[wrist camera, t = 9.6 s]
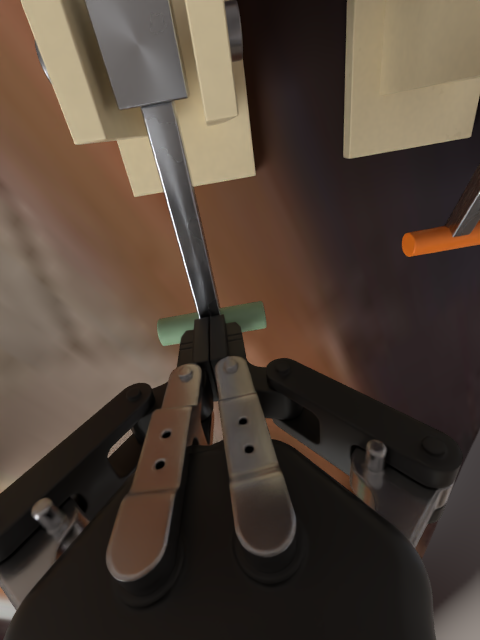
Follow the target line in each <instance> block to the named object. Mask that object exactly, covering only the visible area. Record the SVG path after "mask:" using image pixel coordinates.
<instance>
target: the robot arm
mask: <svg viewBox="0 0 480 640" xmlns="http://www.w3.org/2000/svg"><path fill="white" fill-rule="evenodd" d="M179 350H180V351H179V356H178V364H177V368H176V369H174V370H173V371H172V372H171V374H170V377H169V380H168V382H167V383H165V384H163V385H161V386H158V387H156V388H153V389H151V387H150V385H148V384H146V383H137V384H133V385H131V386H129V387H127V388H126V389H124V390H123V391H122V392H121V393H119V394H118V395H117V396H116V397H115V398H113V399H112V400H111V401H110V402H109V403H108V404H106V405H105V406H104V407H103V408H102V409H100V410H99V411H98V412H97V413H96V414H94V415H93V416H92V417H91V418H90V419H89V420H87V421H86V422H85V423H84V424H83V425H81V426H80V427H79V428H78V429H77V430H75V431H74V432H73V433H72V434H71V435H70V436H68V437H67V438H66V439H65V440H64V441H62V442H61V443H60V444H59V445H58V446H56V447H55V448H54V449H53V450H52V451H51V452H49V453H48V454H47V455H46V456H45V457H43V458H42V459H41V460H40V461H39V462H38V463H36V464H35V465H34V466H33V467H32V468H30V469H29V470H28V471H27V472H26V473H24V474H23V475H22V476H21V477H20V478H19V479H17V480H16V481H15V482H14V483H13V484H11V485H10V486H9V487H8V488H7V489H5V490H4V491H3V492H2V493H1V494H0V587H1V588H2V590H3V591H4V593H5V594H6V596H7V597H8V599H9V600H10V602H11V603H12V605H13V606H14V607H15V609H16V610H17V611H16V613H15V614H14V616H13V618H12V620H11V622H10V625H9V627H8V629H7V632H6V634H5V637H4V640H436V636H435V630H434V622H433V597H432V589H431V584H430V581H429V577H428V574H427V571H426V569H425V567H424V564H423V562H422V560H421V558H420V556H419V554H418V553H417V551H416V550H415V547H416V545H417V543H418V541H419V539H420V537H421V535H422V533H423V531H424V529H425V527H426V525H427V524H430V523H434V522H436V521H438V520H439V519H440V518H441V516H442V514H443V511H444V508H445V506H446V503H447V500H448V498H449V495H450V492H451V490H452V487H453V484H454V482H455V479H456V476H457V474H458V471H459V468H460V466H461V463H462V459H463V456H462V451H461V449H460V447H459V446H458V444H457V443H456V442H455V441H454V440H453V439H452V438H451V437H449V436H448V435H446V434H445V433H443V432H441V431H439V430H437V429H434V428H432V427H430V426H428V425H426V424H424V423H422V422H420V421H418V420H416V419H414V418H412V417H410V416H408V415H406V414H404V413H401V412H399V411H397V410H395V409H393V408H391V407H389V406H387V405H385V404H383V403H381V402H379V401H377V400H375V399H373V398H370V397H368V396H366V395H364V394H362V393H360V392H358V391H356V390H354V389H352V388H350V387H348V386H346V385H344V384H342V383H340V382H337V381H335V380H333V379H331V378H329V377H327V376H325V375H323V374H321V373H319V372H317V371H315V370H313V369H311V368H309V367H306V366H304V365H302V364H300V363H298V362H296V361H294V360H292V359H287V358H280V359H276V360H274V361H272V362H270V363H269V364H268V365H267V367H257V366H254V365H252V364H250V363H249V362H248V361H247V359H246V353H245V348H244V342H243V337H242V331H241V326H239V325H238V324H237V323H236V322H232V323H226V321H225V316H224V314H222V315H216V316H210V318H209V317H205V318H199V319H195V320H194V329H193V330H187V331H185V333H184V334H183V335H182V337H181V341H180V349H179ZM214 401H218V404H219V411H220V418H221V425H222V432H223V439H224V440H222V441H220V442H217V443H215V444H213V429H214V412H213V402H214ZM265 418H272V419H273V422H274V423H275V424H276V425H277V426H278V427H280V428H281V429H283V430H284V431H285V432H287V433H288V434H290V435H291V436H293V437H294V438H296V439H297V440H298V441H300V442H301V443H303V444H304V445H306V446H307V447H308V448H310V449H311V450H313V451H314V452H316V453H317V454H319V455H320V456H321V457H323V458H324V459H326V460H327V461H329V462H330V463H332V464H333V465H334V466H336V467H337V468H339V469H340V470H342V471H343V472H344V473H346V474H347V475H349V476H350V478H349V479H350V486H351V488H352V490H353V492H354V493H355V494H356V496H355V495H354V494H353V493H351V492H350V491H349V490H348V489H346V488H345V487H344V486H343V485H341V484H340V483H339V482H337V481H336V480H335V479H334V478H332V477H331V476H330V475H328V474H327V473H326V472H325V471H323V470H322V469H321V468H319V467H318V466H317V465H316V464H314V463H313V462H312V461H310V460H309V459H308V458H307V457H305V456H304V455H303V454H301V453H300V452H299V451H298V450H296V449H295V448H293V447H292V446H290V445H288V444H286V443H284V442H281V441H278V440H274V439H271V437H270V433H269V430H268V427H267V423H266V420H265ZM130 429H131V430H132V432H133V434H132V435H131V436H130V437H129V438H128V439H127V440H126V441H125V442H124V443H123V444H122V445H121V446H120V447H119V448H118V449H117V450H116V451H115V452H114V453H113V454H112V455H111V456H110V457H109V458H107V456H108V452H109V450H110V448H111V447H112V446H113V445H114V444H115V443H116V442H117V441H118V440H119V439H120V438H121V437H122V436H123V435H124V434H125V433H126V432H128V431H129V430H130ZM212 444H213V445H212ZM358 497H359V498H360V499H361V500H360V499H359V498H358Z"/></svg>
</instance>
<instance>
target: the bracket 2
mask: <svg viewBox="0 0 480 640" xmlns="http://www.w3.org/2000/svg"><path fill="white" fill-rule="evenodd" d="M479 96H480V0H347V23H346V64H345V105H344V147H343V157H344V158H349V159H351V158H357V157H362V156H368V155H374V154H379V153H385V152H391V151H396V150H402V149H407V148H413V147H419V146H424V145H430V144H436V143H441V142H447V141H452V140H458V139H464V138H469V137H471V134H472V129H473V124H474V120H475V115H476V110H477V106H478V101H479Z"/></svg>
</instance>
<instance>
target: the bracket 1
mask: <svg viewBox="0 0 480 640" xmlns="http://www.w3.org/2000/svg"><path fill="white" fill-rule="evenodd" d="M20 1H21V3H22V6H23V9H24V11H25V14H26V16H27V19H28V22H29V24H30V27H31V30H32V32H33V35H34V38H35V47H36V51H37V55H38V58H39V61H40V63H41V66H42V68H43V70H44V72H45V74H46V76H47V78H48V79H49V81H50V83H51V84H52V86H53V88H54V90H55V93H56V96H57V98H58V101H59V104H60V106H61V109H62V112H63V114H64V117H65V119H66V122H67V125H68V127H69V130H70V133H71V135H72V138H73V141H74V143H75V144H77V145H80V144H89V143H98V142H108V141H117V143H118V146H119V149H120V152H121V156H122V159H123V162H124V165H125V168H126V172H127V175H128V178H129V181H130V184H131V187H132V191H133V194H134V196H135V197H137V196H143V195H149V194H154V193H160V192H164V191H163V187H162V184H161V180H160V177H159V173H158V170H157V166H156V162H155V159H154V155H153V152H152V148H151V145H150V141H149V137H148V134H147V130H146V127H145V123H144V119H143V116H142V112H141V107H136V108H130V109H125V110H119V109H118V107H117V104H116V101H115V97H114V94H113V91H112V88H111V85H110V82H109V78H108V75H107V72H106V69H105V66H104V63H103V59H102V56H101V53H100V50H99V47H98V44H97V41H96V37H95V34H94V31H93V28H92V25H91V22H90V18H89V15H88V12H87V9H86V6H85V3H84V0H20ZM172 3H173V8H174V14H175V19H176V24H177V29H178V34H179V39H180V45H181V50H182V55H183V60H184V65H185V70H186V76H187V81H188V86H189V91H190V96H189V97H188V98H187V99H181V100H175V101H174V102H175V104H176V109H177V113H178V118H179V122H180V127H181V131H182V136H183V140H184V145H185V149H186V154H187V159H188V163H189V168H190V172H191V177H192V181H193V186H199V185H205V184H211V183H216V182H222V181H228V180H233V179H239V178H244V177H250V176H255V175H256V172H255V163H254V154H253V145H252V136H251V127H250V118H249V109H248V101H247V92H246V83H245V74H244V65H243V41H242V28H241V20H240V13H239V7H238V4H237V1H236V0H172Z"/></svg>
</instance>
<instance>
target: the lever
mask: <svg viewBox="0 0 480 640" xmlns="http://www.w3.org/2000/svg"><path fill="white" fill-rule="evenodd" d="M84 3H85V6H86V9H87V12H88V15H89V18H90V22H91V25H92V28H93V31H94V34H95V37H96V41H97V44H98V47H99V50H100V53H101V56H102V59H103V63H104V66H105V69H106V72H107V75H108V78H109V82H110V85H111V88H112V91H113V94H114V97H115V101H116V104H117V107H118V109H119V110H125V109H130V108H136V107H141V112H142V116H143V119H144V123H145V127H146V130H147V134H148V137H149V141H150V145H151V148H152V152H153V155H154V159H155V162H156V166H157V170H158V173H159V177H160V180H161V184H162V187H163V191H164V195H165V198H166V202H167V205H168V209H169V213H170V216H171V220H172V223H173V227H174V230H175V234H176V238H177V241H178V245H179V248H180V252H181V255H182V259H183V263H184V266H185V270H186V273H187V277H188V280H189V284H190V288H191V291H192V295H193V298H194V302H195V306H196V309H197V312H196V313H190V314H185V315H179V316H173V317H168V318H162V319H159V320H158V323H157V330H158V336H159V339H160V342H161V344H162V345H163V346H167V345H172V344H178V343H180V341H181V337H182V335H183V334H184V333H185V331H187V330H193V329H194V320H195V319H199V318H205V317H209V318H210V316H216V315H222V314H224V316H225V321H226V323H232V322H236V323H237V324H238V325H239V326H241V331H242V332H246V331H252V330H257V329H263V328H266V317H265V311H264V307H263V303H262V301H258V302H253V303H247V304H241V305H236V306H230V307H224V308H220V304H219V299H218V295H217V290H216V285H215V281H214V276H213V272H212V267H211V263H210V258H209V254H208V249H207V245H206V240H205V236H204V231H203V227H202V222H201V217H200V213H199V208H198V204H197V199H196V195H195V190H194V186H193V181H192V177H191V172H190V168H189V163H188V159H187V154H186V149H185V145H184V140H183V136H182V131H181V127H180V122H179V118H178V113H177V109H176V104H175V102H174V101H175V100H181V99H187V98H188V97H189V96H190V91H189V86H188V81H187V76H186V70H185V65H184V60H183V55H182V50H181V45H180V39H179V34H178V29H177V24H176V19H175V14H174V8H173V3H172V0H84Z"/></svg>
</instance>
